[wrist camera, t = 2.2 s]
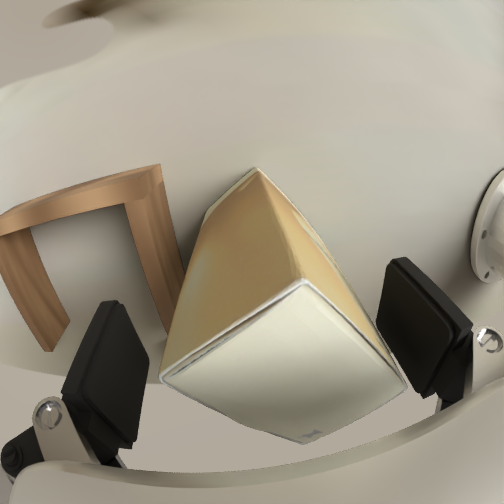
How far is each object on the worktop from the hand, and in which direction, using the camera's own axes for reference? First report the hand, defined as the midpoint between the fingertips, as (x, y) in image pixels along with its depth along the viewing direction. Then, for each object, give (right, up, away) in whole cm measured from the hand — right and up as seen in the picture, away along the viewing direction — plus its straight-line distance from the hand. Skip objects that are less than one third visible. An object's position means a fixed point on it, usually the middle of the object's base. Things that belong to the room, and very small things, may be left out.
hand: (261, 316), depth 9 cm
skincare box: (0, +4, +8) cm, 9 cm away
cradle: (-12, +2, +8) cm, 14 cm away
